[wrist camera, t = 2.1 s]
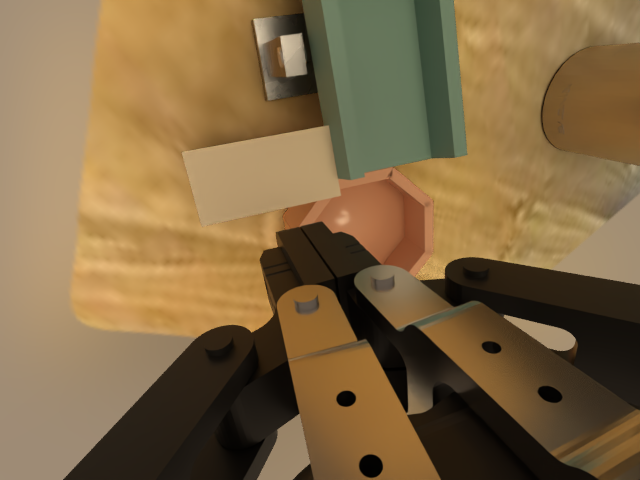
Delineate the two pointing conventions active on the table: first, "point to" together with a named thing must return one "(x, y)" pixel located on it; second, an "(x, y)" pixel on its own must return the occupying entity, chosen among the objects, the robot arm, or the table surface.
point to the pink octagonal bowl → (377, 217)
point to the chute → (348, 110)
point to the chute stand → (284, 56)
